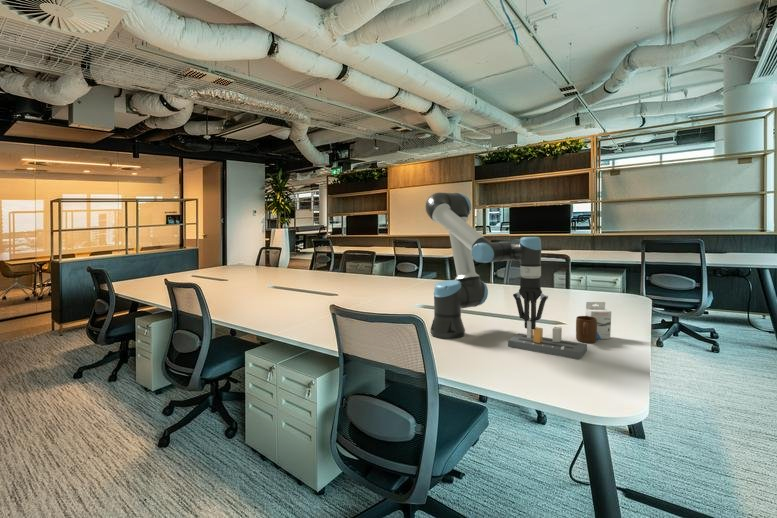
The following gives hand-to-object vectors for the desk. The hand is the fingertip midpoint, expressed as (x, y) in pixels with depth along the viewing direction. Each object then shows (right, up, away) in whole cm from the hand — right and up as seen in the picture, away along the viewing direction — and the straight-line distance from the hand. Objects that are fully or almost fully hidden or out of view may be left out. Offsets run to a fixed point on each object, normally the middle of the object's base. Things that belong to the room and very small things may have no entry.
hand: (529, 336), depth 150 cm
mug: (+25, -3, +6) cm, 26 cm away
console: (+6, -4, -1) cm, 7 cm away
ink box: (+33, -3, +11) cm, 35 cm away
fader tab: (+2, -1, -2) cm, 3 cm away
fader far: (+10, -1, -1) cm, 10 cm away
